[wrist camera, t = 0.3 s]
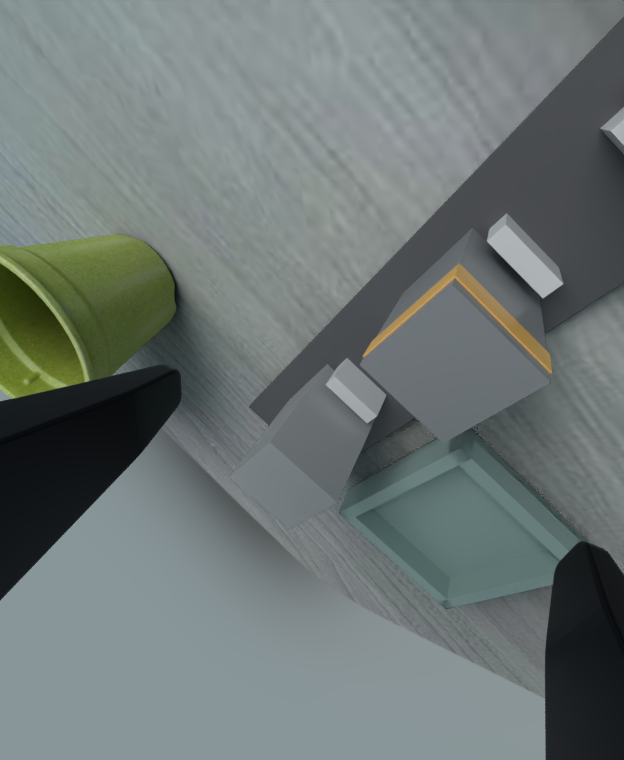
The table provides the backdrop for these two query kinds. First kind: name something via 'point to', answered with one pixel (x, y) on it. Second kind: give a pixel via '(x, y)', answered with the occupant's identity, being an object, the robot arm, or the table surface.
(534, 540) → the tray
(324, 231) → the table surface
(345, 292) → the table surface
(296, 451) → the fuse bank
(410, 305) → the block
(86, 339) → the plant pot
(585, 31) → the table surface
